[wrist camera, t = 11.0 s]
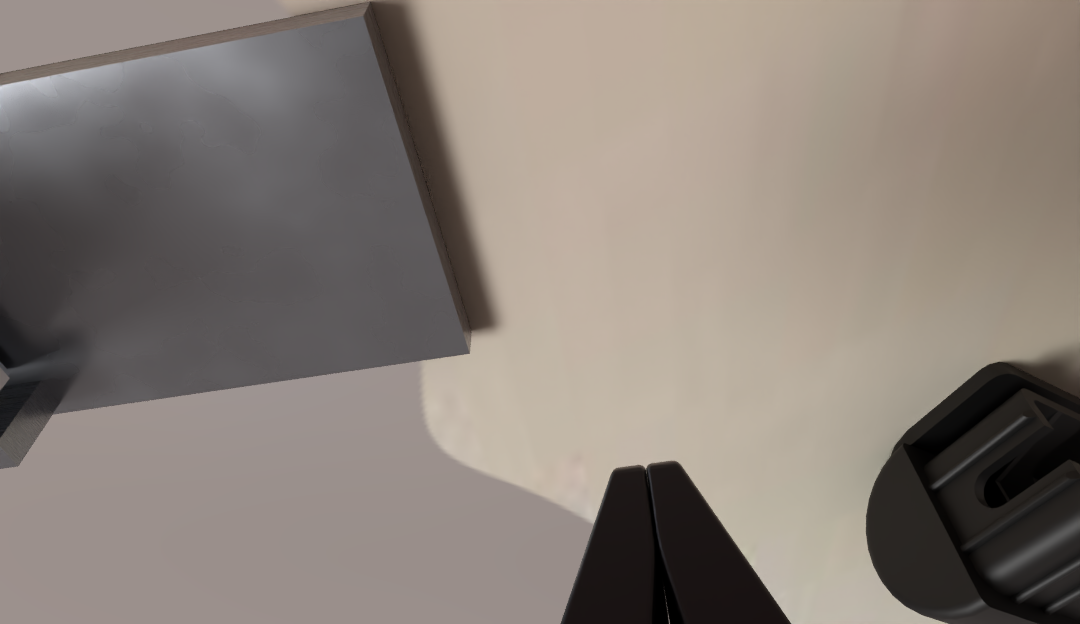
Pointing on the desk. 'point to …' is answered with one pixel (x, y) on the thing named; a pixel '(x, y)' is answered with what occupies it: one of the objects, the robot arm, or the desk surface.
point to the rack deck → (213, 221)
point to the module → (3, 375)
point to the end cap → (984, 505)
